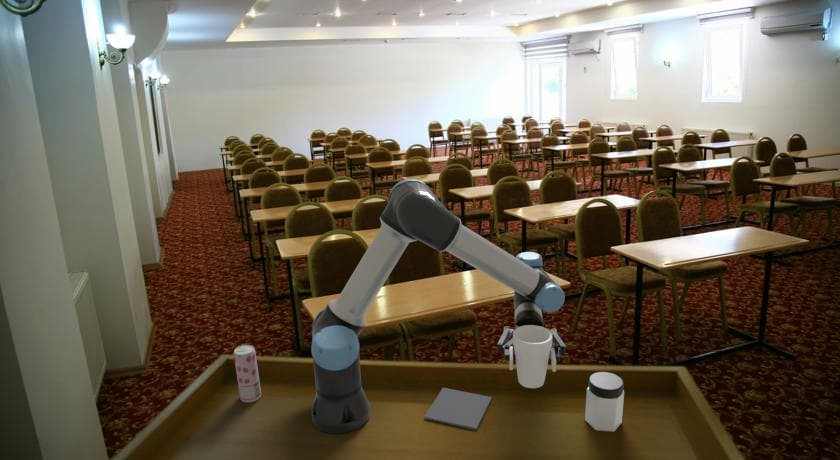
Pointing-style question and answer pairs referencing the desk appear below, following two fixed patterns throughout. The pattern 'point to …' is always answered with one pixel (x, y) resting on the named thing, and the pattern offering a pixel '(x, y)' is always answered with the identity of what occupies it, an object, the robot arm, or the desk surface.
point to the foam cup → (532, 354)
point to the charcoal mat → (459, 408)
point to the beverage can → (247, 373)
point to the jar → (604, 401)
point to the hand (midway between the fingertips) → (532, 365)
